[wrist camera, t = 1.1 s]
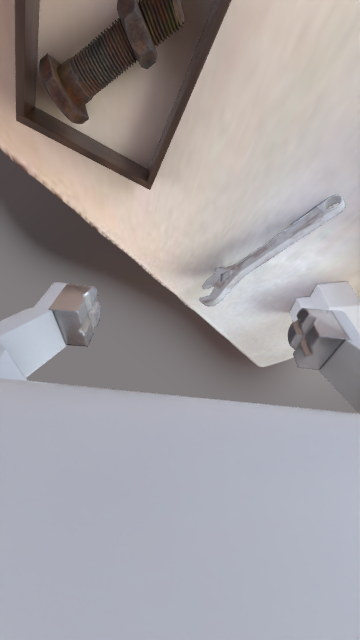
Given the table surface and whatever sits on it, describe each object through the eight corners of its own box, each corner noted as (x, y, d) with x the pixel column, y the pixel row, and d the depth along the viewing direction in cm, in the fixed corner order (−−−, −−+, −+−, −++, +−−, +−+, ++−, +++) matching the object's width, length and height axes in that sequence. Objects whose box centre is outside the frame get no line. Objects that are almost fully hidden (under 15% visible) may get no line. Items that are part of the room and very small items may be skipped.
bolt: (179, 10, 25) (71, 97, 29) (159, -67, 20) (34, 51, 25) (195, 54, 24) (81, 136, 28) (178, -16, 19) (44, 97, 24)
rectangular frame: (27, 110, 29) (16, 120, 27) (35, -250, 15) (11, -294, 13) (151, 177, 36) (150, 190, 34) (235, -28, 22) (244, -30, 20)
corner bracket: (289, 313, 66) (303, 350, 59) (303, 285, 57) (322, 326, 50) (328, 310, 66) (347, 347, 59) (348, 281, 56) (374, 322, 49)
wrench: (331, 193, 42) (199, 286, 55) (328, 184, 41) (194, 282, 54) (358, 214, 37) (206, 312, 50) (356, 205, 35) (200, 308, 49)
